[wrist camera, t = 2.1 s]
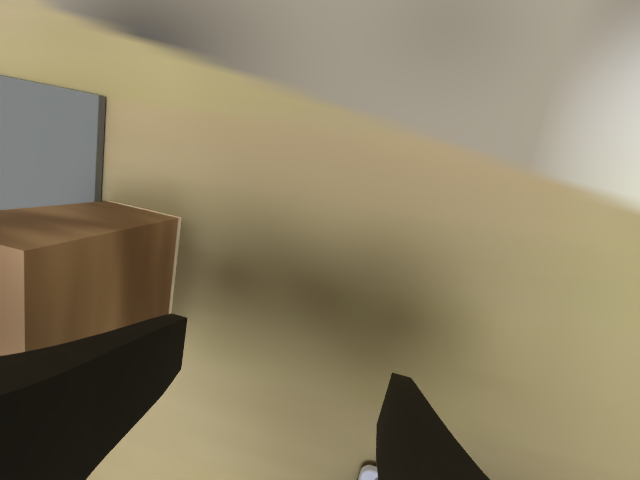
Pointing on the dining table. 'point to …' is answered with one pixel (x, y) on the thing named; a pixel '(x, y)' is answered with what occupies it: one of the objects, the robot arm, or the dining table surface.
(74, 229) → the walnut block
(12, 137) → the mat
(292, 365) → the dining table surface
